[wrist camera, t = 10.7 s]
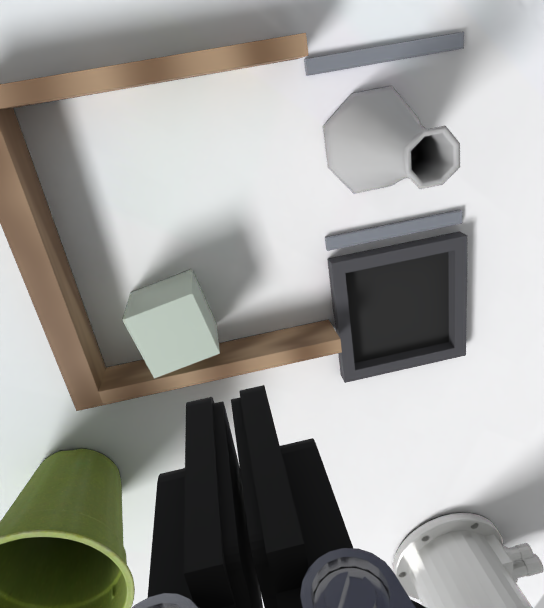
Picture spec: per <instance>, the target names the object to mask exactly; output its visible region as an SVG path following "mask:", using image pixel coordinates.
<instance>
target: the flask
mask: <svg viewBox="0 0 544 608" xmlns="http://www.w3.org/2000/svg"><path fill="white" fill-rule="evenodd" d="M323 132H324V140H325V148H326V157H327V165H328V168H329V169H330V170H331V171H332V172H333V173H334V174H335V175H336V176H337V177H338V178H339V179H340V180H341V181H342V182H343V183H344V184H345V185H346V186H347V187H348V188H349V189H350V190H351V192H352V193H353V194H355V193H360V192H365V191H369V190H374V189H379V188H384V187H388V186H392V185H394V184H396V183H397V182H399V181H401V180H402V179H405V178H409V179H411V180H412V181H413V182H414V183H415V185H416V186H417V187H418V188H419V189H424V188H429V187H433V186H438V185H443V184H444V183H445V182H446V181H447V180H448V179H449V178H450V177H451V176H452V175H453V174H454V173H455V172H456V170H457V169H458V168H459V167H460V143H459V142H458V140H457V139H456V138H455V137H454V136H453V134H452V133H451V132H450V131H449V129H448V128H447V127H446V126H440V127H435V128H430V129H426V128H424V127H423V126H421V123H420V121H419V119H418V117H417V116H416V114H415V113H414V112H413V111H412V110H411V108H410V107H409V106H408V105H407V104H406V102H405V101H404V100H403V99H402V98H401V96H400V95H399V94H398V93H397V92H396V90H395V89H394V88H393V87H392V86H388V87H383V88H378V89H372V90H367V91H362V92H357V93H352V94H351V95H350V96H349V97H348V98H347V99H346V101H345V102H344V103H343V104H342V105H341V106H340V107H339V108H338V110H337V111H336V112H335V113H334V114H333V115H332V116H331V117H330V119H329V120H328V121H327V122H326V123H325V124H324V125H323Z"/></svg>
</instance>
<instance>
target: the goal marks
mask: <svg viewBox="0 0 544 608" xmlns="http://www.w3.org/2000/svg"><path fill="white" fill-rule="evenodd" d="M462 48H464V32H459V33H454V34H448V35H442V36H436V37H430V38H425V39H419V40H413V41H407V42H402V43H396V44H390V45H384V46H378V47H373V48H367V49H361V50H355V51H350V52H344V53H338V54H332V55H326V56H321V57H315V58H309V59H304V62H305V70H306V76H309V75H314V74H320V73H326V72H331V71H337V70H343V69H349V68H354V67H360V66H366V65H371V64H377V63H383V62H388V61H394V60H400V59H405V58H411V57H417V56H423V55H428V54H434V53H440V52H445V51H451V50H457V49H462ZM461 223H462V211H461V210H457V211H452V212H447V213H442V214H437V215H432V216H427V217H422V218H417V219H412V220H407V221H402V222H397V223H392V224H387V225H382V226H377V227H373V228H368V229H363V230H358V231H353V232H348V233H343V234H338V235H333V236H328V237H325V242H326V250H327V251H329V250H334V249H339V248H344V247H349V246H354V245H359V244H364V243H369V242H373V241H378V240H383V239H388V238H393V237H398V236H403V235H408V234H412V233H417V232H422V231H427V230H432V229H437V228H442V227H447V226H452V225H456V224H461Z"/></svg>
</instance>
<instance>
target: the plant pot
mask: <svg viewBox="0 0 544 608" xmlns="http://www.w3.org/2000/svg"><path fill="white" fill-rule="evenodd" d="M134 592H135V589H134V581H133V577H132V574H131V572H130V570H129V568H128V566H127V561H126V553H125V549H124V547H123V523H122V486H121V478H120V474H119V471H118V468H117V467H116V465H115V464H114V463H113V462H112V461H111V460H110V459H109V458H107V457H106V456H105V455H103V454H101V453H99V452H96V451H93V450H89V449H82V448H81V449H76V450H69V451H59V452H57V453H55V454H53V455H51V456H49V457H48V458H47V459H45V460H44V461H43V462H42V463H41V464H40V466H39V467H38V469H37V470H36V472H35V473H34V474H33V476H32V477H31V479H30V480H29V482H28V483H27V484H26V486H25V487H24V489H23V490H22V492H21V493H20V494H19V496H18V497H17V499H16V500H15V501H14V503H13V504H12V506H11V507H10V509H9V510H8V512H7V513H6V514H5V516H4V517H3V519H2V520H1V521H0V608H131V606H132V604H133V600H134Z"/></svg>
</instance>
